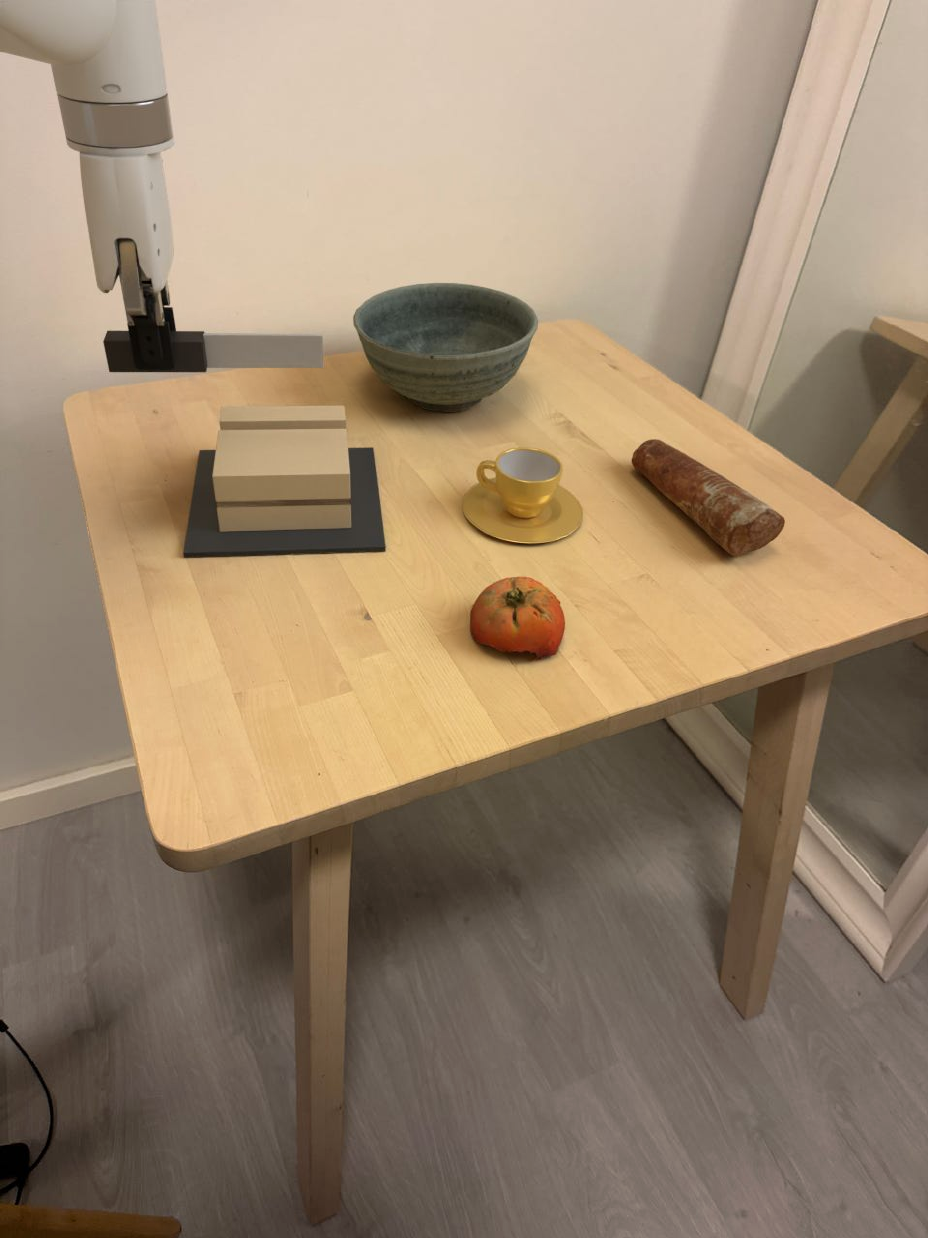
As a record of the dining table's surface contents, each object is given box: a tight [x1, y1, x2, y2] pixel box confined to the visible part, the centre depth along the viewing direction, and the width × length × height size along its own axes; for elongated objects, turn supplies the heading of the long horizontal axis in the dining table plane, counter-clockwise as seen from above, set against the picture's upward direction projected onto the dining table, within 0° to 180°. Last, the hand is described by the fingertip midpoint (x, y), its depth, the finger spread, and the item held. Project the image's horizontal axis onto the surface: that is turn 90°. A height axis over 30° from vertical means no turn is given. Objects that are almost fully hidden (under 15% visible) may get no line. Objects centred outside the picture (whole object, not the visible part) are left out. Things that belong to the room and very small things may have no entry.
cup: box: [461, 446, 584, 544], centre depth 88 cm, size 12×12×5 cm
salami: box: [631, 439, 786, 558], centre depth 90 cm, size 6×19×6 cm, turn 25°
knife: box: [102, 330, 325, 373], centre depth 78 cm, size 18×2×3 cm, turn 98°
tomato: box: [469, 576, 566, 663], centre depth 75 cm, size 8×7×7 cm
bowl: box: [352, 282, 539, 413], centre depth 105 cm, size 21×21×10 cm
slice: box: [219, 405, 347, 430], centre depth 90 cm, size 12×3×6 cm, turn 98°
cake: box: [182, 428, 387, 559], centre depth 87 cm, size 18×18×7 cm
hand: (157, 358), depth 77 cm, fingers closed on knife, 2 cm apart
